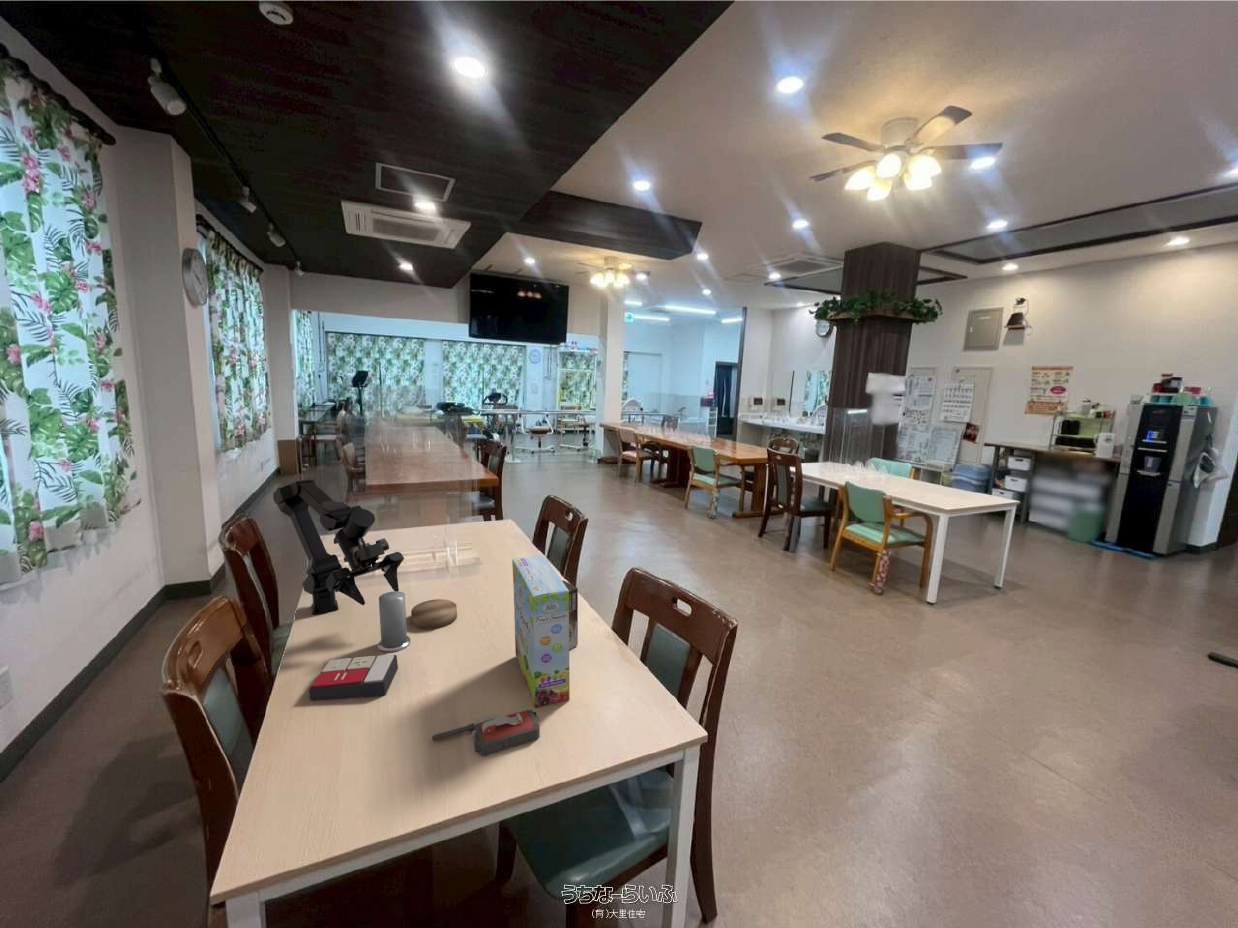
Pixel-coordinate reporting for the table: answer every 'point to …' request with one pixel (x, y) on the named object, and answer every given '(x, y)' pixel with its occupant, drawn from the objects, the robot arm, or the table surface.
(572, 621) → the coffee box
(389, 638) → the grey cylinder
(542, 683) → the snack box
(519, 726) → the walkie-talkie
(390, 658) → the calculator
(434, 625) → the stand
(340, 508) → the robot arm
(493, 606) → the table surface
